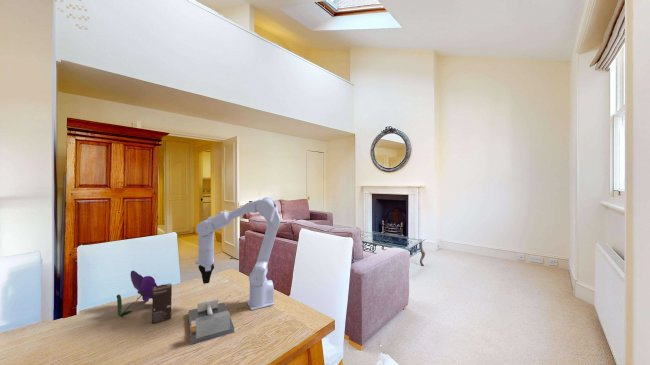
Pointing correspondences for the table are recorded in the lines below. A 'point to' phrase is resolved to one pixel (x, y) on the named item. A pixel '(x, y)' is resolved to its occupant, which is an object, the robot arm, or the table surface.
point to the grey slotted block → (208, 305)
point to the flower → (143, 289)
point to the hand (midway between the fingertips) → (206, 282)
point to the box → (161, 302)
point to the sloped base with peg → (210, 323)
